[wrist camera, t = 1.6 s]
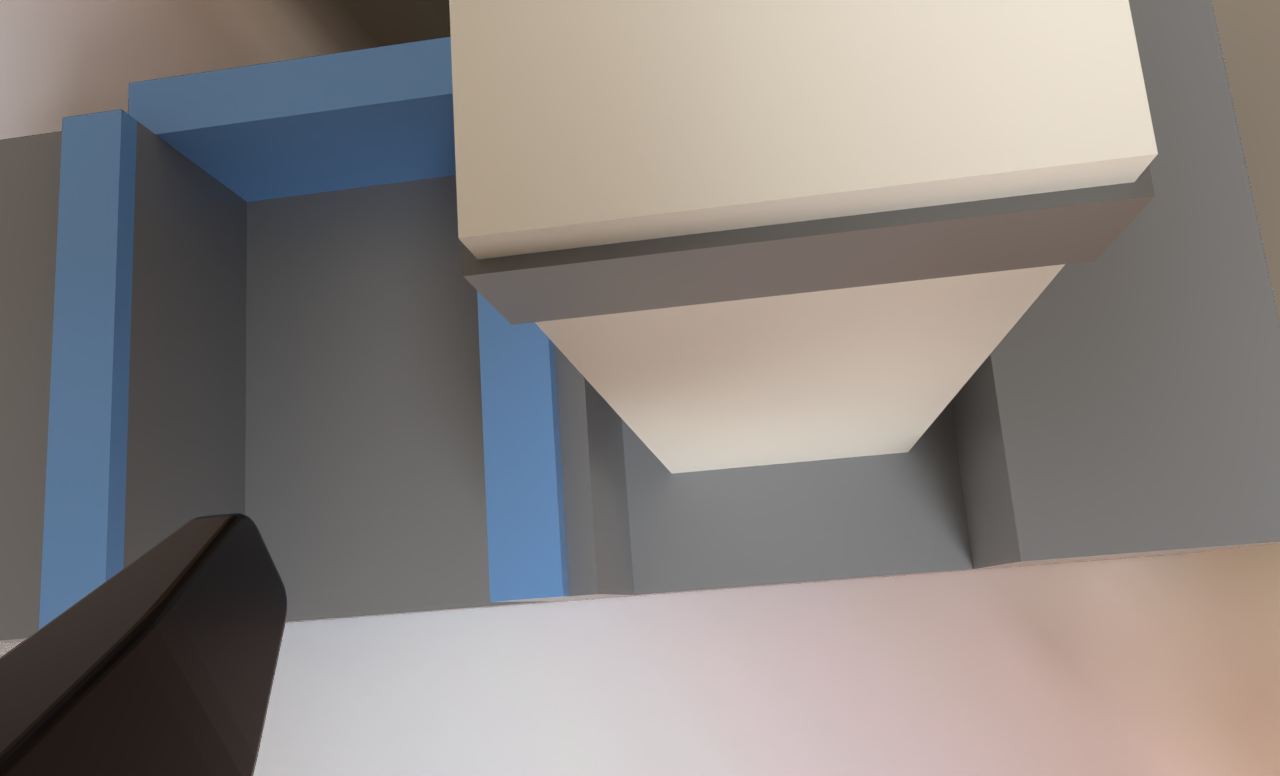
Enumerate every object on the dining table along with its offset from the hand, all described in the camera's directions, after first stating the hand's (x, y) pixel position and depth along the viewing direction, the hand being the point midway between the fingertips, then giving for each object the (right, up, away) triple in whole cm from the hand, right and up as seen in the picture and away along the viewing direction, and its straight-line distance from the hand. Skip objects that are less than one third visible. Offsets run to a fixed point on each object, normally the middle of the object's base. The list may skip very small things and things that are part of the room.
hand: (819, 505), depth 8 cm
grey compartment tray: (-2, +1, +12) cm, 12 cm away
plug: (+1, +2, +10) cm, 10 cm away
